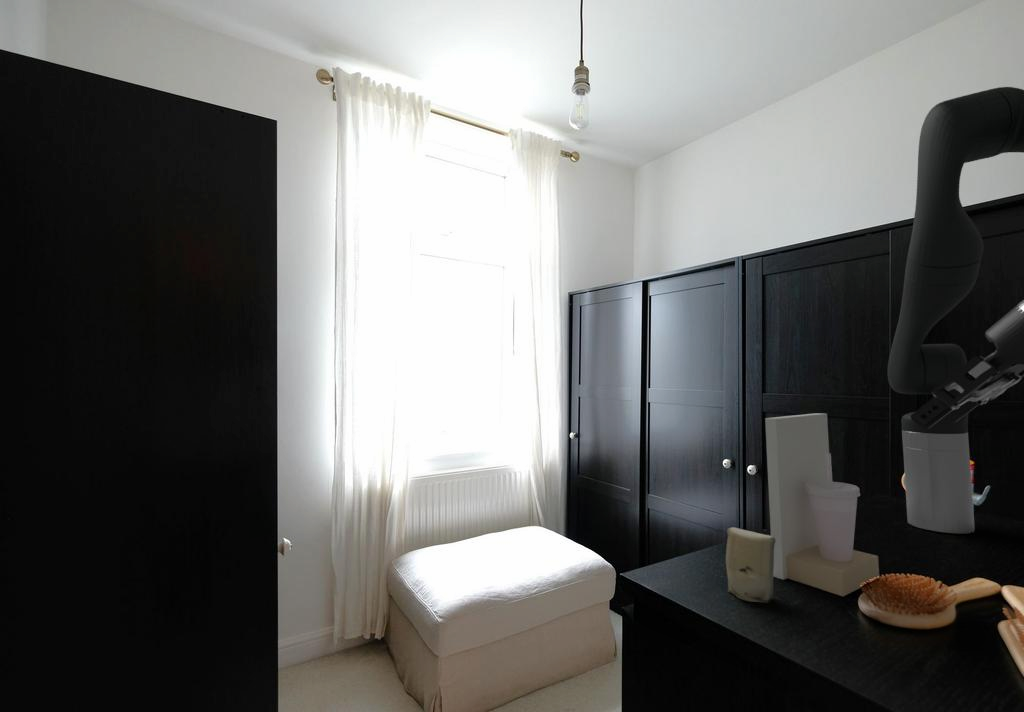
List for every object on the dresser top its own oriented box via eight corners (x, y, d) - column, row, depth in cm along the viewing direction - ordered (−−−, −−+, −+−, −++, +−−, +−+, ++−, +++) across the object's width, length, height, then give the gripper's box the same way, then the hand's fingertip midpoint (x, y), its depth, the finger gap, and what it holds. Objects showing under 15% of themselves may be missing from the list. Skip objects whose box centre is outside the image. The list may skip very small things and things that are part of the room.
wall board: (824, 555, 76) (816, 413, 77) (889, 573, 69) (879, 415, 70) (772, 576, 69) (765, 418, 70) (839, 598, 61) (829, 421, 63)
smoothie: (853, 550, 70) (847, 450, 70) (873, 567, 63) (866, 457, 64) (802, 547, 71) (797, 450, 72) (817, 563, 65) (811, 457, 66)
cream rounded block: (769, 588, 65) (766, 526, 65) (783, 606, 60) (780, 539, 60) (723, 586, 66) (721, 525, 66) (733, 603, 61) (730, 537, 61)
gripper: (1039, 304, 60) (927, 396, 69) (1000, 299, 52) (881, 402, 62) (1110, 345, 55) (979, 437, 65) (1079, 346, 48) (936, 450, 57)
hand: (931, 420), depth 63 cm, fingers open, 8 cm apart
